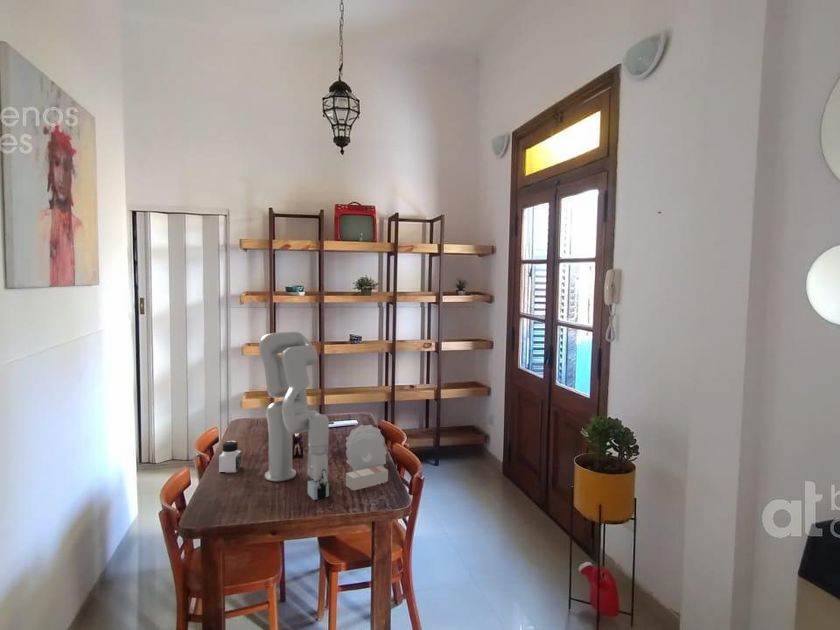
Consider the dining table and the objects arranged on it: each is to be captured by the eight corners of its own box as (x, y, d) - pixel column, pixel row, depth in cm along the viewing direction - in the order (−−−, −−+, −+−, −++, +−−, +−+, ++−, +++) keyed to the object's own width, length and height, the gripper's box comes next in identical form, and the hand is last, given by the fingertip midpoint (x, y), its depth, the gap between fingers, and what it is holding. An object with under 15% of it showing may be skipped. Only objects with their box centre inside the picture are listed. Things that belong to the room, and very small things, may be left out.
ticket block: (345, 485, 197) (346, 472, 197) (380, 477, 206) (380, 465, 206) (352, 490, 193) (352, 478, 192) (387, 482, 201) (388, 469, 201)
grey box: (307, 494, 188) (307, 481, 188) (322, 490, 192) (322, 477, 192) (313, 499, 184) (313, 486, 183) (328, 496, 187) (328, 483, 187)
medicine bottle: (236, 472, 208) (235, 444, 208) (218, 472, 208) (218, 444, 207) (241, 466, 216) (241, 439, 215) (224, 466, 215) (224, 439, 214)
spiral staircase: (373, 466, 230) (377, 485, 205) (338, 451, 227) (338, 468, 202) (390, 430, 231) (396, 445, 206) (356, 415, 228) (358, 428, 203)
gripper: (300, 443, 192) (300, 488, 193) (317, 456, 177) (317, 505, 178) (318, 440, 196) (318, 484, 197) (337, 452, 182) (336, 500, 183)
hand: (318, 493), depth 188 cm, fingers closed on grey box, 6 cm apart
